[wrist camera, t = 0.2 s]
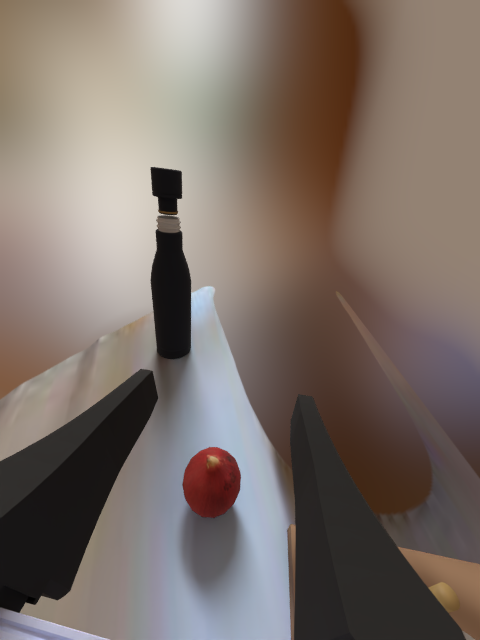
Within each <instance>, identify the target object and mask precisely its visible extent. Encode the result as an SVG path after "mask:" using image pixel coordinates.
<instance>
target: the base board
mask: <svg viewBox="0 0 480 640" xmlns="http://www.w3.org/2000/svg"><path fill="white" fill-rule="evenodd" d="M287 532H288V561H289V590H290V619H291V640H294V614H295V545H296V525H292V524H291V525H290V526H289V528H288V530H287ZM398 548H399V550H400V551H401V553H402V554H403V555H404V557H405V558H406V559H407V561H408V562H409V563H410V565H411V566H412V567H413V569H414V570H415V571H416V572H417V574H418V575H419V576H420V578H421V579H422V580H423V582H424V583H425V584H426V585H427V587H428V588H429V589H430V591H431V592H432V593H433V594H434V596H435V597H436V598H437V599H438V601H439V602H440V603H441V604H442V606H443V607H444V608H445V609H446V611H447V612H448V613H449V614H450V615H451V617H452V618H453V619H454V620H455V622H456V623H457V624H458V625H459V627H460V628H461V629H462V631H464V632H465V633H467V634H468V635H470V636H471V637H472V638H474V639H475V640H480V564H476V563H471V562H466V561H461V560H457V559H452V558H447V557H443V556H438V555H433V554H429V553H424V552H419V551H414V550H410V549H405V548H400V547H398Z"/></svg>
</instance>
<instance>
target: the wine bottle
mask: <svg viewBox="0 0 480 640" xmlns="http://www.w3.org/2000/svg"><path fill="white" fill-rule="evenodd" d="M151 179H152V191H153V192H152V193H153V196H156V197H158V204H159V210H158V211H159V213H161V214H165V215H161V216H158V217H157V218H158V219H157V220H156V221H157V222H158V225H157V227H158V229H157V230H156V242H157V251H156V254H155V258H154V262H153V265H152V272H151V289H152V300H153V310H154V321H155V331H156V342H157V351H158V353H159V354H160V355H161V356H162V357H164V358H168V359H176V358H181V357H183V356H185V355H186V354H188V353H189V351H190V348H191V279H190V273H189V268H188V264H187V262H186V259H185V256H184V253H183V250H182V232H181V231H180V228H181V227H180V226H179V224H180V221H179V218H178V217H175V216H166V215H177V213H178V211H177V199H181V198H182V172H181V171H178V170H172V169H164V168H156V167H151Z"/></svg>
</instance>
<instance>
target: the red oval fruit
mask: <svg viewBox="0 0 480 640" xmlns="http://www.w3.org/2000/svg"><path fill="white" fill-rule="evenodd" d="M240 479H241V475H240V470H239V468H238V465H237V462H236V460H235V458H234V457H233V456H232V455H230V454H229V453H228V452H227V451H225V450H222V449H220V448H218V447H209V448H207V449H204V450H202V451H200V452H199V453H197V454H196V455H195V456H194V457H192V459H191V460H190V462H189V464H188V466H187V468H186V469H185V473H184V479H183V490H184V495H185V499H186V501H187V503H188V504H189V506H190V508H191V509H192V511H194V512H195V513H197V514H198V515H200V516H201V517H209V518H215V517H217V516H219V515H222V514H224V513H225V512H226V511H227V510H228V509H229V508H230V507H231V506H232V505H233V504H234V502H235V500H236V498H237V496H238V493H239V491H240Z"/></svg>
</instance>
